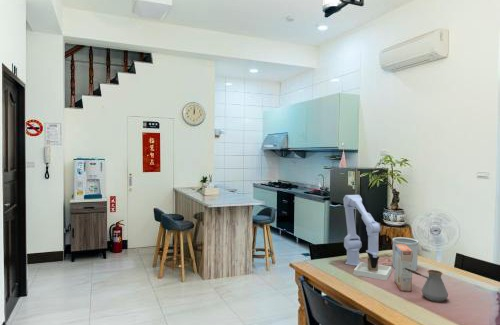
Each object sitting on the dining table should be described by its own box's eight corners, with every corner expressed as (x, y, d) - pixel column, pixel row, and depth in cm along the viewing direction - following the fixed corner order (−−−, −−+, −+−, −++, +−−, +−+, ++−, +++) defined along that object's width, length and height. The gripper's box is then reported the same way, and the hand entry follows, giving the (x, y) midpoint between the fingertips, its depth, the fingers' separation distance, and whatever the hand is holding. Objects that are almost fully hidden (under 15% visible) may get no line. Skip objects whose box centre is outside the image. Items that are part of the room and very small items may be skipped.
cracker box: (412, 291, 178) (413, 250, 177) (399, 290, 179) (400, 250, 179) (406, 282, 191) (406, 244, 191) (394, 281, 193) (394, 243, 192)
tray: (360, 266, 219) (360, 262, 219) (391, 271, 210) (391, 266, 210) (353, 274, 203) (353, 269, 203) (386, 280, 194) (386, 275, 194)
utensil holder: (422, 272, 209) (423, 242, 209) (397, 271, 210) (397, 242, 210) (411, 264, 224) (412, 237, 224) (388, 264, 224) (388, 237, 224)
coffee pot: (439, 293, 176) (439, 263, 175) (453, 303, 164) (454, 271, 164) (397, 294, 174) (397, 264, 174) (409, 303, 163) (409, 271, 163)
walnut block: (367, 267, 209) (367, 257, 209) (376, 268, 208) (376, 258, 208) (368, 270, 204) (368, 260, 204) (377, 271, 203) (377, 260, 203)
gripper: (364, 240, 214) (364, 262, 214) (367, 246, 200) (367, 269, 200) (376, 241, 213) (376, 263, 213) (380, 246, 198) (380, 270, 199)
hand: (372, 266), depth 206 cm, fingers closed on walnut block, 5 cm apart
